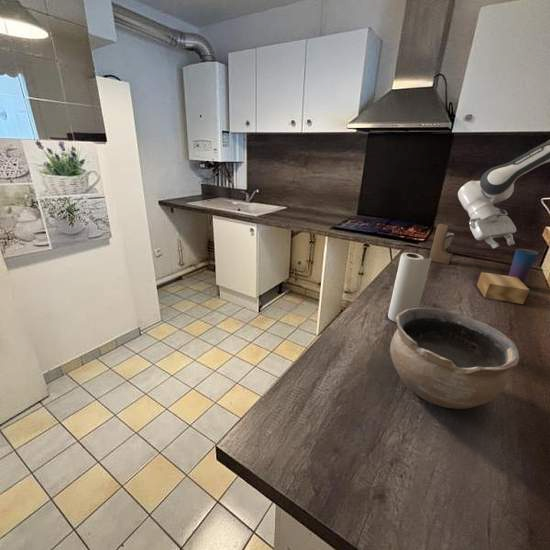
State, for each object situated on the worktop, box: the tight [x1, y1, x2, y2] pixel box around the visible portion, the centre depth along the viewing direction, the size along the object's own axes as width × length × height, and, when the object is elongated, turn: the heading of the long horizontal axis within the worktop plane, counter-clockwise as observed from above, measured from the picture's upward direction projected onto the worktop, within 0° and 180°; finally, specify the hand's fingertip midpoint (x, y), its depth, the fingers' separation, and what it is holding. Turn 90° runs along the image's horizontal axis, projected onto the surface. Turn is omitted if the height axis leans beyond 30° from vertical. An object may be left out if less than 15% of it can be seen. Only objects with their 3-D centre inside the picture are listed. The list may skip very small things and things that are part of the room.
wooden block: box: [428, 223, 453, 265], centre depth 139 cm, size 9×4×18 cm, turn 53°
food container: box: [444, 232, 455, 252], centre depth 156 cm, size 12×6×10 cm, turn 130°
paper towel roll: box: [387, 252, 432, 323], centre depth 88 cm, size 7×6×21 cm
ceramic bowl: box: [389, 307, 520, 410], centre depth 63 cm, size 22×22×15 cm
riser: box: [476, 271, 530, 305], centre depth 110 cm, size 12×12×6 cm
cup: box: [507, 248, 539, 284], centre depth 116 cm, size 7×7×15 cm
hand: (504, 246), depth 113 cm, fingers open, 8 cm apart
